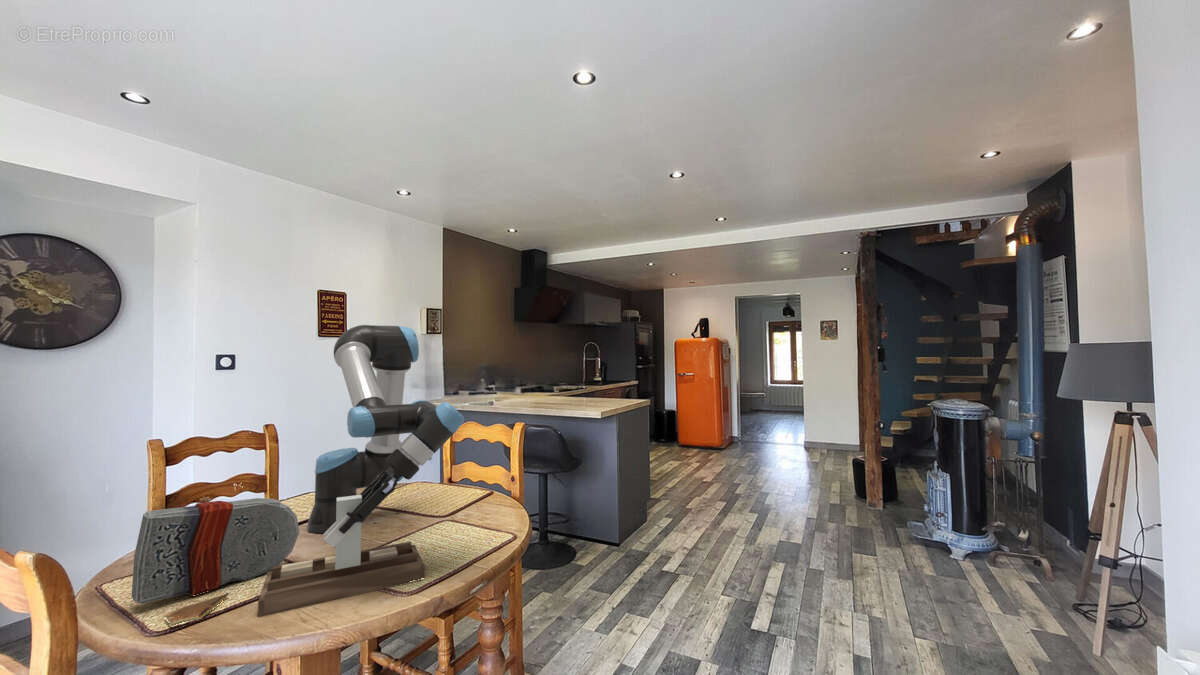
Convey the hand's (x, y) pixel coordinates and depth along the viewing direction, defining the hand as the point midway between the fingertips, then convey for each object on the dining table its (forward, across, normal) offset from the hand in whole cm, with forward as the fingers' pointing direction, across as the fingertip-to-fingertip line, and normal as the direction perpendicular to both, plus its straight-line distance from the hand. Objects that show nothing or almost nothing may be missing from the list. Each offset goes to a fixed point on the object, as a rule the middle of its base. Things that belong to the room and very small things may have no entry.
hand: (328, 540), depth 105 cm
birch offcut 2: (+6, +7, -10) cm, 14 cm away
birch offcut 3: (0, +7, -17) cm, 18 cm away
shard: (+26, +5, +8) cm, 28 cm away
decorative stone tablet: (+23, +18, +6) cm, 30 cm away
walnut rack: (+5, +5, -11) cm, 13 cm away
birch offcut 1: (+13, +7, -4) cm, 15 cm away
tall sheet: (+2, 0, -7) cm, 7 cm away
